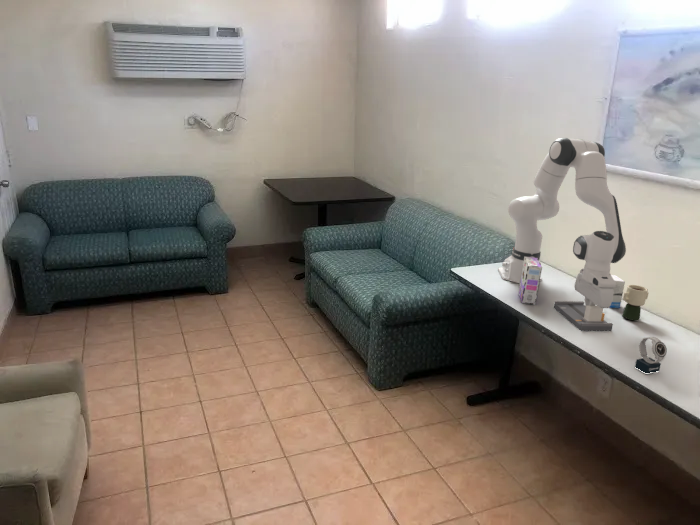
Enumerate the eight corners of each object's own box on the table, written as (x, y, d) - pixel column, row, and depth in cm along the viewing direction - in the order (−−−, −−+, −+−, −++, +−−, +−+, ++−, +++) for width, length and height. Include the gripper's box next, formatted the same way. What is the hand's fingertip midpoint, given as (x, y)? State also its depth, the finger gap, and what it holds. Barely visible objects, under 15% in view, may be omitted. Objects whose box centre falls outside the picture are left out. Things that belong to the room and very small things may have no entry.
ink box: (620, 308, 226) (626, 281, 222) (608, 308, 226) (614, 281, 222) (610, 300, 234) (616, 274, 231) (599, 300, 234) (604, 274, 230)
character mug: (635, 314, 220) (642, 284, 217) (648, 321, 214) (656, 290, 210) (612, 315, 218) (619, 284, 214) (625, 323, 211) (632, 291, 207)
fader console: (553, 307, 222) (555, 296, 221) (581, 308, 224) (583, 296, 222) (580, 331, 201) (583, 318, 200) (611, 331, 203) (614, 318, 201)
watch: (651, 377, 170) (659, 345, 167) (630, 365, 177) (637, 334, 174) (664, 375, 172) (672, 343, 169) (643, 363, 179) (650, 332, 176)
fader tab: (581, 319, 207) (584, 304, 205) (596, 319, 207) (599, 305, 206) (586, 323, 203) (589, 309, 201) (602, 323, 203) (605, 309, 202)
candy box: (536, 305, 224) (542, 266, 219) (521, 303, 225) (527, 265, 220) (532, 293, 237) (538, 257, 232) (518, 292, 238) (524, 255, 233)
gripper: (573, 266, 213) (567, 299, 217) (602, 284, 193) (594, 320, 198) (589, 266, 214) (582, 300, 218) (619, 285, 194) (611, 321, 198)
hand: (588, 310), depth 207 cm, fingers closed
